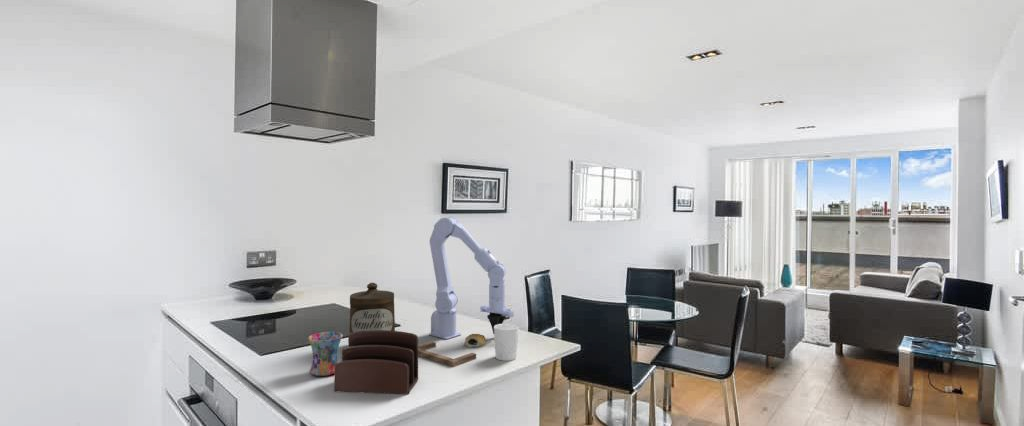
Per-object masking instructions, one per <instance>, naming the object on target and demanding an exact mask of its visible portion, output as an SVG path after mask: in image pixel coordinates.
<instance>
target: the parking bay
mask: <svg viewBox="0 0 1024 426" xmlns="http://www.w3.org/2000/svg"><path fill="white" fill-rule="evenodd" d="M436 347H437V342H435V341H428V342H425V343H422V344H418V357H421V358H425V359H427V360H430V361H432V362H433V361H434V362H437V363H440V364H443V365H447V366H450V367H453V368H454V367H457V366H460V365H462V364H465V363H469V362H470V361H473V360H476V359H477V353H476V352H470V353H466V354H464V355H461V356H458V357H456V358H455V357H454V358H452V357H448V356H446V355H442V354H438V353H436V352H432V351H429V350H430V349H434V348H436Z"/></svg>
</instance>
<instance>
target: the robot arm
mask: <svg viewBox="0 0 1024 426" xmlns="http://www.w3.org/2000/svg"><path fill="white" fill-rule="evenodd" d="M450 237H453V238H458V239H459V240H461V241H462V242H463V243H464V245H465V246H467V248H469V250H470V251H471V252H472V253H473V254H474V260H475V262H477V263H478V265H480V267H481V268H482V269H483V270H484V272H487V277H488V279H489V285H488V305H481V306H480V312H481V313H488V314H487V316H486V317H487V319H488V321H489V323H490V326H491V329H492V334H493V335H494V326H495V325H498V324H504V323H503V322H504V321H505V319H506V317H508V318H510V319H511V318H514V317H515V316H514V314H515V313H514V311H515V310H514V311H513V310H510V309H507V308H506V307H505V297H506V296H505V295H506V294H505V293H506V292H505V288H506V287H505V286H506V285H505V275H506V273H507V272H506V268H505V265H504V264H503V263H500V260H498V259H496V258H495V257H494V255H492V251H491V250H490V249H487V248H485V247H481V246H480V245H479V244H478V243H477V241H476V240H475V239H474V237H473V236H472V235H471V233H469V231H468V230H467V229H466V227H464V225H463V224H462V223H461V222H459V221H458V219H456V218H455V217H453V216H449V217H441V218H440V219H439V220H438V221H437V222H435V224H434V225H433V230H432V233H431V235H430V237H429V246H430V252H431V258H432V265H433V269H434V275H435V281H436V287H437V288H436V291H435V292H436V293H435V295H436V299H435V303H434V304H435V305H434V306H435V308H436V310H434V311H433V312H432V314H431V316H430V332H429V333H428V335H430V336H432V337H433V336H434V337H436V338H440V339H444V340H448V339H451V338H454V337H458V336H461V335H462V333H460V332H457V309H456V306H457V305H458V296H457V294H456V293H455V290H454V287H453V285H452V283H451V276H450V272H449V267H448V266H449V264H448V260H447V255H446V249H445V248H446V247H445V243H446V241H447V240H448V239H449V238H450Z"/></svg>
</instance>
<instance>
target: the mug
mask: <svg viewBox="0 0 1024 426" xmlns="http://www.w3.org/2000/svg"><path fill="white" fill-rule="evenodd" d="M343 336H344V335H343V333H341V332H337V331H324V332H317V333H313V334H311V335H309V336H308V338H307V340H308V342H309V345H310V346H311V351H312V362H311V363H312V364H311V367H310V369H309V373H310V374H311V375H313V376H317V377H323V376H330V375H334V374H335V370H334V368H335V364H336V363H337V362H340V360H339V348H340V343H341V340H342V338H343Z"/></svg>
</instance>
